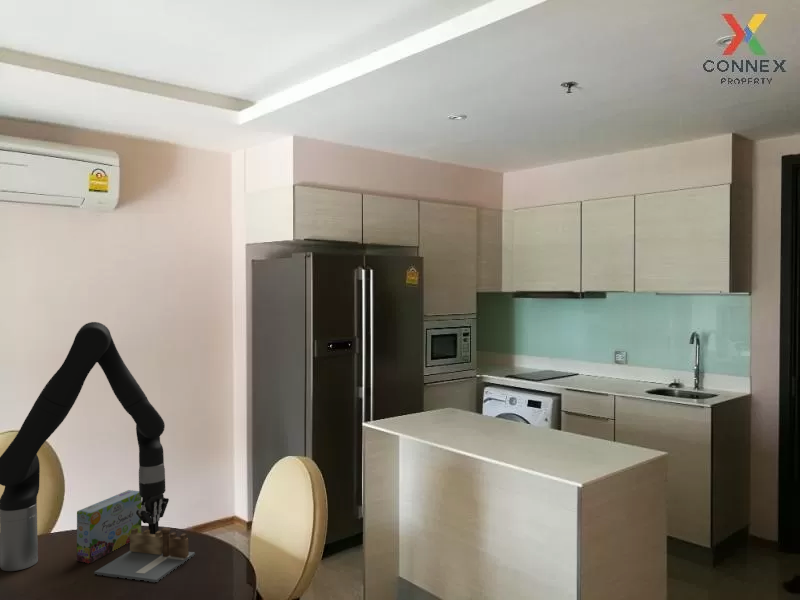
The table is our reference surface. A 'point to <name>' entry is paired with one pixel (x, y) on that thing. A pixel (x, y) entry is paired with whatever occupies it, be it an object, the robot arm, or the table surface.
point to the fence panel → (146, 542)
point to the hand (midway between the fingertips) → (153, 534)
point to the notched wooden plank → (174, 544)
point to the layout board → (142, 566)
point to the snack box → (107, 525)
